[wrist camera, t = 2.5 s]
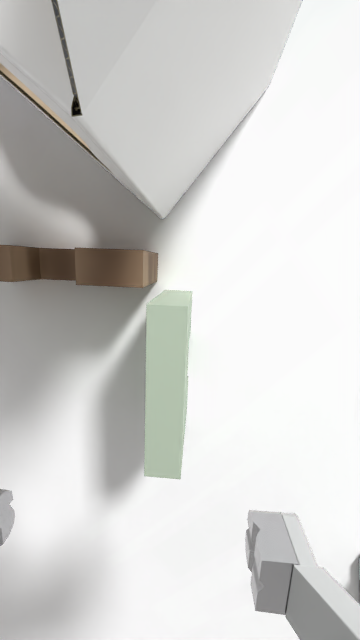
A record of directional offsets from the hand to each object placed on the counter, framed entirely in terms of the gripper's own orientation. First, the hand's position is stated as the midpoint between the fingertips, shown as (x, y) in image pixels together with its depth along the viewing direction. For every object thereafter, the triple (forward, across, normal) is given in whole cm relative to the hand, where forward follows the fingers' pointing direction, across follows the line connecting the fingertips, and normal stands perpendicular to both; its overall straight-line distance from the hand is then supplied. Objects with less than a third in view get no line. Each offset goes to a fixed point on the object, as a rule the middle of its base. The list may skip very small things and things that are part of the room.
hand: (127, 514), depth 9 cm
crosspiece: (+18, 0, 0) cm, 18 cm away
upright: (+18, +9, -8) cm, 21 cm away
